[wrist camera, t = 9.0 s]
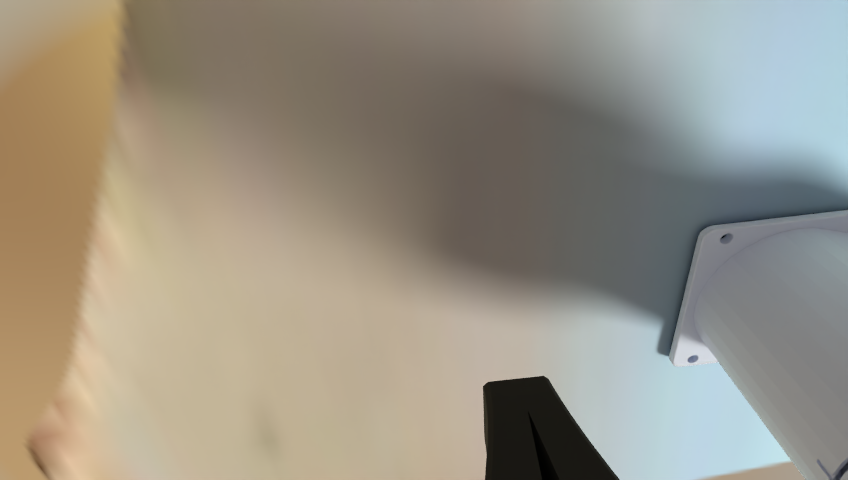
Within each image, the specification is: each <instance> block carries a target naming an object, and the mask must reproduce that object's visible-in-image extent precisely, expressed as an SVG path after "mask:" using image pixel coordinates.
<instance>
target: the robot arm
mask: <svg viewBox="0 0 848 480" xmlns="http://www.w3.org/2000/svg"><path fill="white" fill-rule="evenodd" d="M725 234H727V235H726V236H725V237H724V238H722V239H721V237H722V236H723V235H725ZM669 359H670V361H671V362H672V364H673V365H674V366H677V367H683V366H691V365H700V364H709V363H717V362H719V364H720V365H721V366H722V368H723V369H724V370H725V372H726V373H727V374H728V376H729V377H730V378H731V380H732V381H733V382H734V384H735V385H736V386H737V388H738V389H739V390H740V392H741V393H742V395H743V396H744V397H745V399H746V400H747V401H748V403H749V404H750V405H751V407H752V408H753V409H754V411H755V412H756V413H757V415H758V416H759V417H760V419H761V420H762V421H763V423H764V424H765V426H766V427H767V428H768V430H769V431H770V432H771V434H772V435H773V436H774V438H775V439H776V440H777V442H778V443H779V444H780V446H781V447H782V448H783V450H784V451H785V452H786V454H787V455H788V457H789V458H790V459H791V461H792V462H793V463H794V465H795V466H796V467H797V469H798V470H799V471H800V473H801V474H802V475H803V477H804V478H805V479H806V480H848V210H843V211H834V212H826V213H817V214H808V215H800V216H791V217H782V218H774V219H765V220H756V221H748V222H739V223H730V224H722V225H713V226H709V227H707V228H705V229H703V230H702V231H701V232H700V234H699V236H698V239H697V243H696V247H695V252H694V256H693V260H692V264H691V268H690V272H689V276H688V281H687V285H686V289H685V293H684V297H683V301H682V305H681V309H680V314H679V318H678V322H677V326H676V330H675V334H674V338H673V343H672V347H671V351H670V355H669ZM483 399H484V433H485V444H486V452H487V460H486V475H485V480H619V478H618V477H617V476H616V475H615V473H614V472H613V471H612V470H611V468H610V467H609V466H608V464H607V463H606V462H605V461H604V459H603V458H602V457H601V455H600V454H599V453H598V451H597V450H596V449H595V448H594V446H593V445H592V444H591V442H590V441H589V440H588V438H587V437H586V435H585V434H584V433H583V431H582V430H581V428H580V427H579V426H578V424H577V423H576V421H575V420H574V418H573V417H572V416H571V414H570V413H569V411H568V410H567V408H566V407H565V405H564V404H563V402H562V401H561V399H560V397H559V396H558V394H557V393H556V391H555V389H554V388H553V386H552V384H551V383H550V381H549V379H547V378H546V377H545V376H539V377H530V378H521V379H512V380H502V381H493V382H488V383H486V384H485V385H484V386H483Z"/></svg>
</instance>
